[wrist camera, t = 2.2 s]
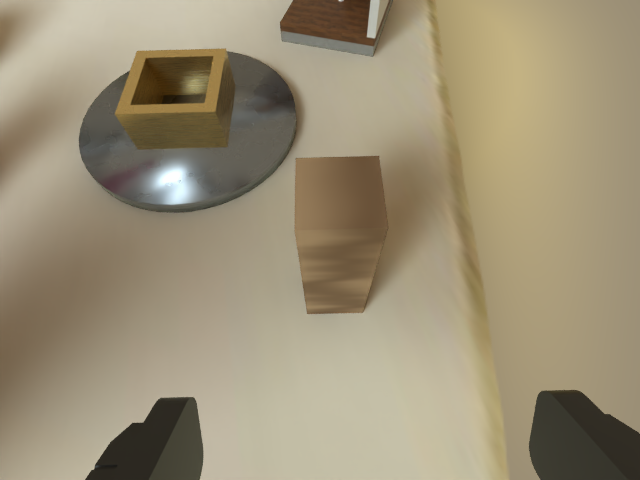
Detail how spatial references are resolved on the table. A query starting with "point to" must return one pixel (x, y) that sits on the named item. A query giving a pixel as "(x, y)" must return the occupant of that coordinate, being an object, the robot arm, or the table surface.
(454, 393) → the table surface
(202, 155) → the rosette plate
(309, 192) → the tall tan wooden block
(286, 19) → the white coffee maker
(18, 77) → the table surface
